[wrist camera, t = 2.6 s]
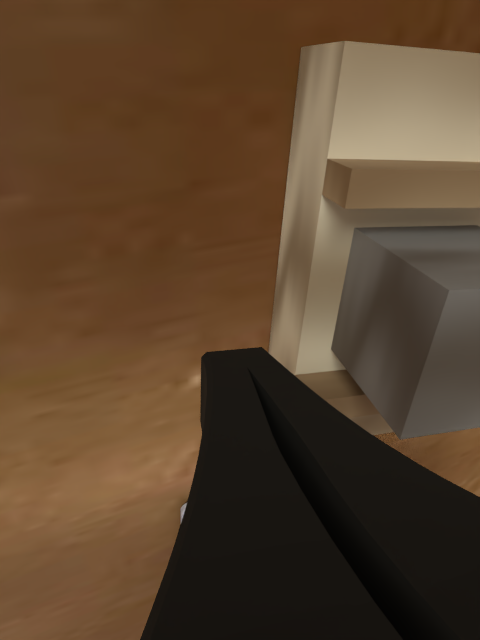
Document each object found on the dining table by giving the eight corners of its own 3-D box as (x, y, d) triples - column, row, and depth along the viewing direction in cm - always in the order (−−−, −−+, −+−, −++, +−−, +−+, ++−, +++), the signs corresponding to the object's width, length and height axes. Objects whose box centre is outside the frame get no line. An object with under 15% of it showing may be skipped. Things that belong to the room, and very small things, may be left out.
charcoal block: (437, 339, 16) (533, 418, 13) (330, 349, 15) (399, 439, 12) (476, 225, 14) (606, 280, 10) (354, 227, 13) (449, 290, 9)
